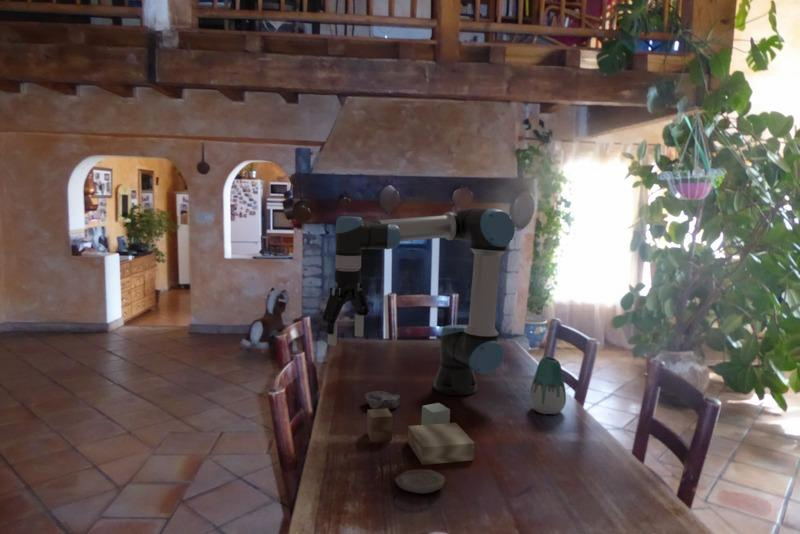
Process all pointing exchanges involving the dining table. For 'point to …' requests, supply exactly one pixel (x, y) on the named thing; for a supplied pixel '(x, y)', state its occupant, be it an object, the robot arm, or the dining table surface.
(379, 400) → the rock
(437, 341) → the dining table surface
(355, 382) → the dining table surface
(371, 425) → the walnut block
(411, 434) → the plinth
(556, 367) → the vase
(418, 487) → the fossil
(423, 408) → the grey green cube
